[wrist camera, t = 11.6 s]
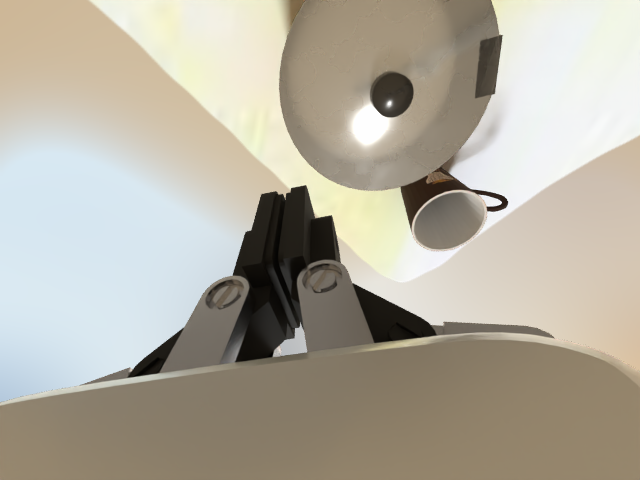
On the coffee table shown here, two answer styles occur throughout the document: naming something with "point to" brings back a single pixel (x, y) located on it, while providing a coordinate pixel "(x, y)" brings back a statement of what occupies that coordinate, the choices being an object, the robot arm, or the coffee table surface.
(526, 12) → the coffee table surface
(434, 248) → the coffee mug
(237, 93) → the coffee table surface
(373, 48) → the cooker lid
